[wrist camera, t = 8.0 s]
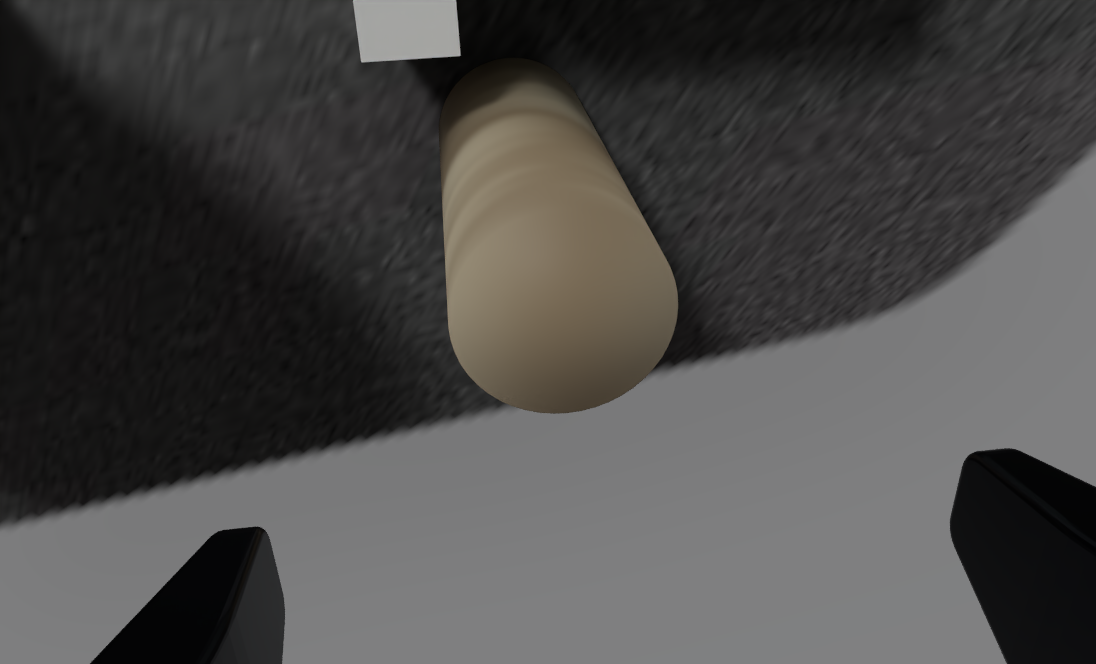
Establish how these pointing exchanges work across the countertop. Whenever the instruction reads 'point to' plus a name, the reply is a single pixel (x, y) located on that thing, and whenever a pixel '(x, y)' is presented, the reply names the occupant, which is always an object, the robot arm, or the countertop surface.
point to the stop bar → (406, 29)
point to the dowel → (545, 247)
